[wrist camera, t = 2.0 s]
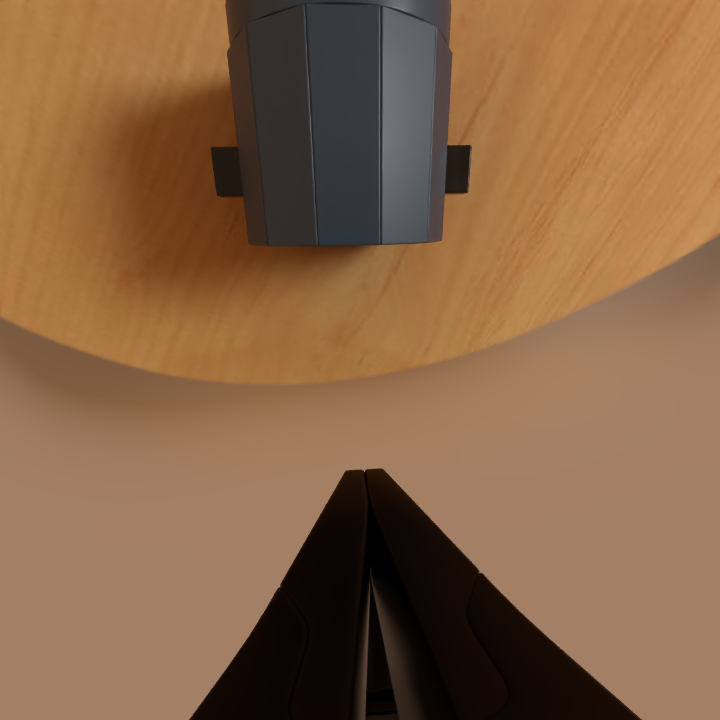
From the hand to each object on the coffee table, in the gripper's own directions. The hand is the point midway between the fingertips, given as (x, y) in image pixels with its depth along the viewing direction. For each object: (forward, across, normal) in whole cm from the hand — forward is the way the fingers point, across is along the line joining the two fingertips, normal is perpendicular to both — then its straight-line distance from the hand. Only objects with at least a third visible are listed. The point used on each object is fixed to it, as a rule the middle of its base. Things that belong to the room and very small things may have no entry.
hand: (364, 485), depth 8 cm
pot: (+12, 0, -8) cm, 15 cm away
